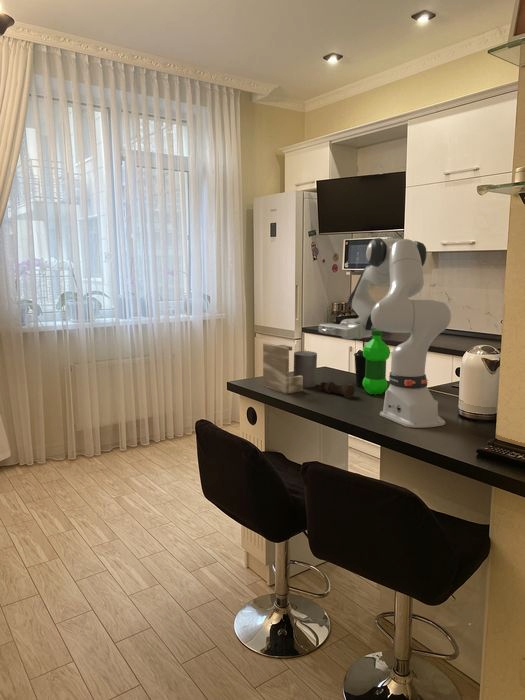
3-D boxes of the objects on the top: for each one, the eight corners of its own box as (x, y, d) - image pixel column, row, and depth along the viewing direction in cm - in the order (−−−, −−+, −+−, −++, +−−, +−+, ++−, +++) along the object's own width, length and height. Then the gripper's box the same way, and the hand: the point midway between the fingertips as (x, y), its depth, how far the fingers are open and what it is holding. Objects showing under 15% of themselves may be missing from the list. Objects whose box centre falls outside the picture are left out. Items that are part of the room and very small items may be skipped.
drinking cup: (351, 387, 221) (353, 339, 217) (354, 383, 228) (355, 337, 225) (370, 389, 219) (372, 340, 215) (372, 384, 226) (374, 337, 222)
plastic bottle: (363, 396, 207) (365, 332, 203) (360, 389, 217) (362, 328, 213) (389, 396, 206) (392, 332, 202) (385, 390, 217) (387, 328, 212)
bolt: (323, 394, 217) (351, 400, 206) (315, 390, 214) (344, 396, 203) (327, 381, 218) (356, 386, 207) (320, 376, 215) (349, 382, 204)
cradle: (280, 383, 228) (280, 341, 225) (303, 391, 215) (304, 346, 212) (263, 385, 224) (263, 343, 221) (285, 393, 210) (285, 348, 207)
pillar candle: (289, 383, 228) (289, 349, 225) (308, 381, 232) (309, 347, 229) (301, 388, 219) (301, 352, 217) (321, 386, 224) (321, 350, 221)
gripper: (333, 319, 243) (308, 321, 235) (364, 324, 226) (340, 326, 218) (332, 333, 244) (308, 335, 236) (364, 339, 227) (339, 342, 219)
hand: (323, 331), depth 227 cm, fingers closed
